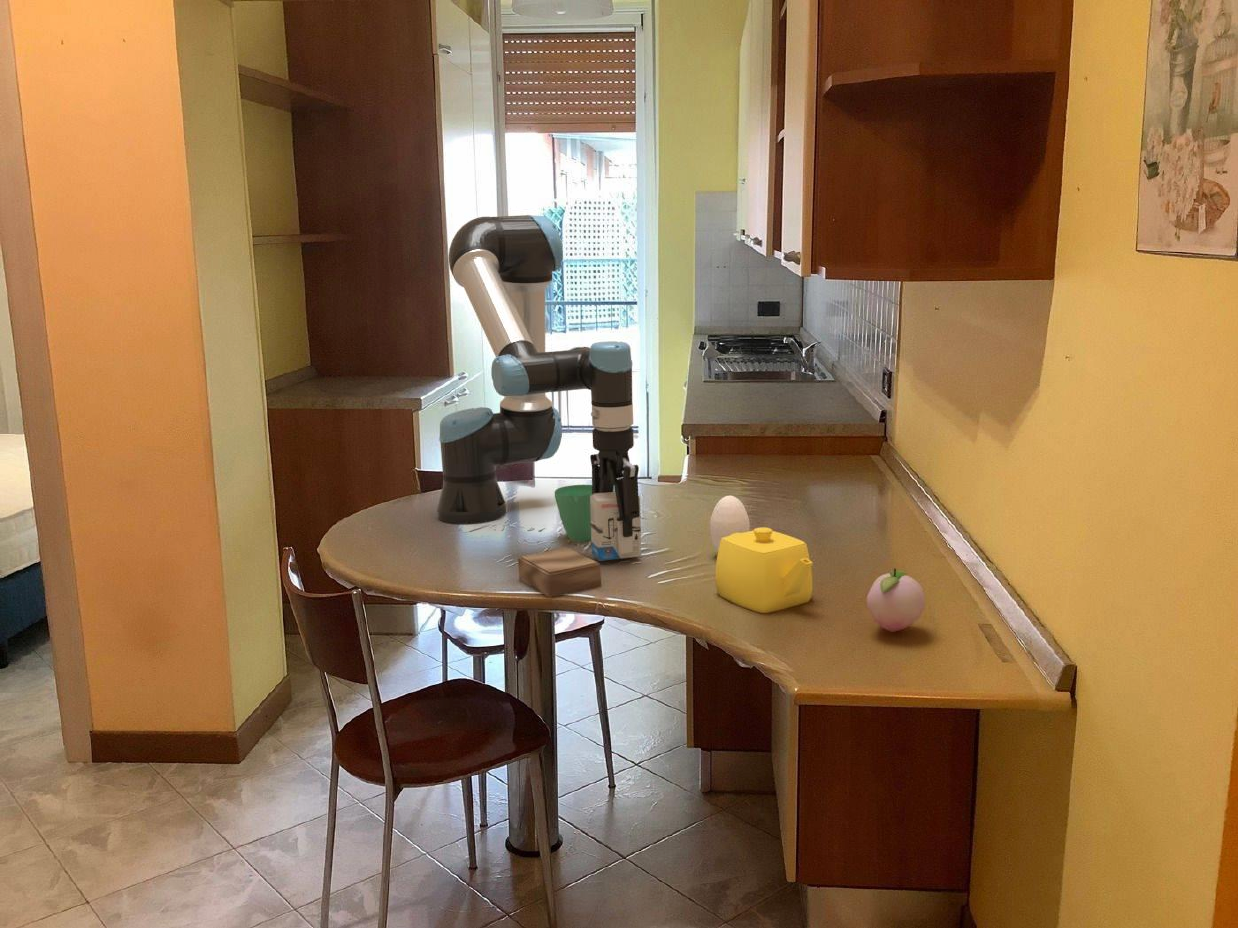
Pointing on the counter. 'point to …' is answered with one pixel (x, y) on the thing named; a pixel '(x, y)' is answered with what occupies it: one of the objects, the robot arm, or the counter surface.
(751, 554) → the teapot
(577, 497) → the mug
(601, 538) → the ink box
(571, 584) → the plinth
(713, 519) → the egg
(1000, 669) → the counter surface
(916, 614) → the decorative fruit
